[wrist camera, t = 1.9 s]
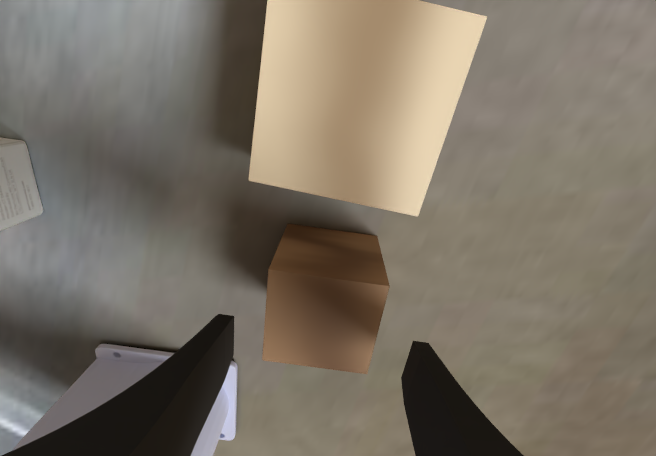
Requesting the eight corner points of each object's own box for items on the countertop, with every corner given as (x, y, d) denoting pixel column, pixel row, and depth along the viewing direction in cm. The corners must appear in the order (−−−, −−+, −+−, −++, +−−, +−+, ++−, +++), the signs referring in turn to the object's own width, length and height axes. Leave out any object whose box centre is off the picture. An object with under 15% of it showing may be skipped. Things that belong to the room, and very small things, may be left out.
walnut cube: (281, 296, 19) (262, 360, 15) (287, 222, 17) (268, 269, 13) (360, 307, 19) (367, 374, 15) (376, 235, 17) (389, 286, 13)
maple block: (270, 160, 16) (248, 180, 12) (291, 0, 13) (271, -36, 10) (401, 189, 16) (417, 216, 13) (448, 38, 14) (487, 16, 10)
